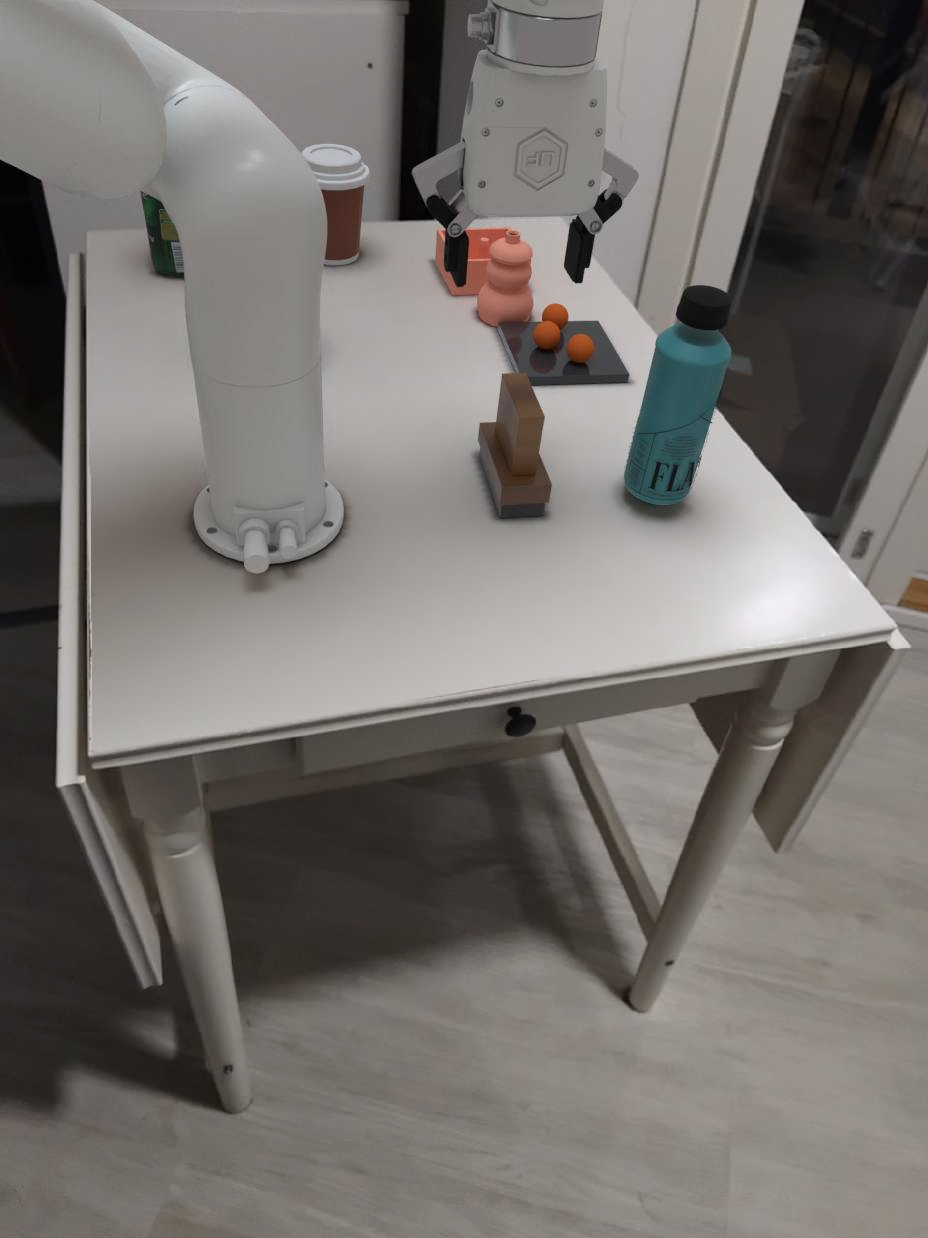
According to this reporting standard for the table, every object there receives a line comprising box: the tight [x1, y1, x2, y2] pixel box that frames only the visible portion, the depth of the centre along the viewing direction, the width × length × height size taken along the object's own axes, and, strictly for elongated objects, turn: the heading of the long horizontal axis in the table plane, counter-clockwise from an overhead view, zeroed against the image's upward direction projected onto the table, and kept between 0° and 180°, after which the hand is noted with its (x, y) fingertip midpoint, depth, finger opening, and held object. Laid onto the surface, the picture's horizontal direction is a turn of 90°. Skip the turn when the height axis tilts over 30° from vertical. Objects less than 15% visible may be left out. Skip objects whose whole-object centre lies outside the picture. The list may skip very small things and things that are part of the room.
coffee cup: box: [300, 143, 371, 266], centre depth 115 cm, size 9×9×12 cm
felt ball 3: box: [566, 334, 594, 363], centre depth 102 cm, size 3×3×3 cm
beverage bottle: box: [623, 284, 732, 506], centre depth 81 cm, size 6×7×20 cm
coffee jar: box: [139, 191, 184, 278], centre depth 108 cm, size 10×8×19 cm
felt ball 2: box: [533, 321, 560, 350], centre depth 103 cm, size 3×3×3 cm
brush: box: [477, 372, 553, 519], centre depth 84 cm, size 10×4×10 cm, turn 11°
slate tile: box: [497, 320, 631, 386], centre depth 105 cm, size 12×12×1 cm
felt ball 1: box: [541, 302, 569, 330], centre depth 107 cm, size 3×3×3 cm
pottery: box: [434, 226, 534, 328], centre depth 111 cm, size 18×10×10 cm, turn 14°
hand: (515, 277), depth 76 cm, fingers open, 9 cm apart
